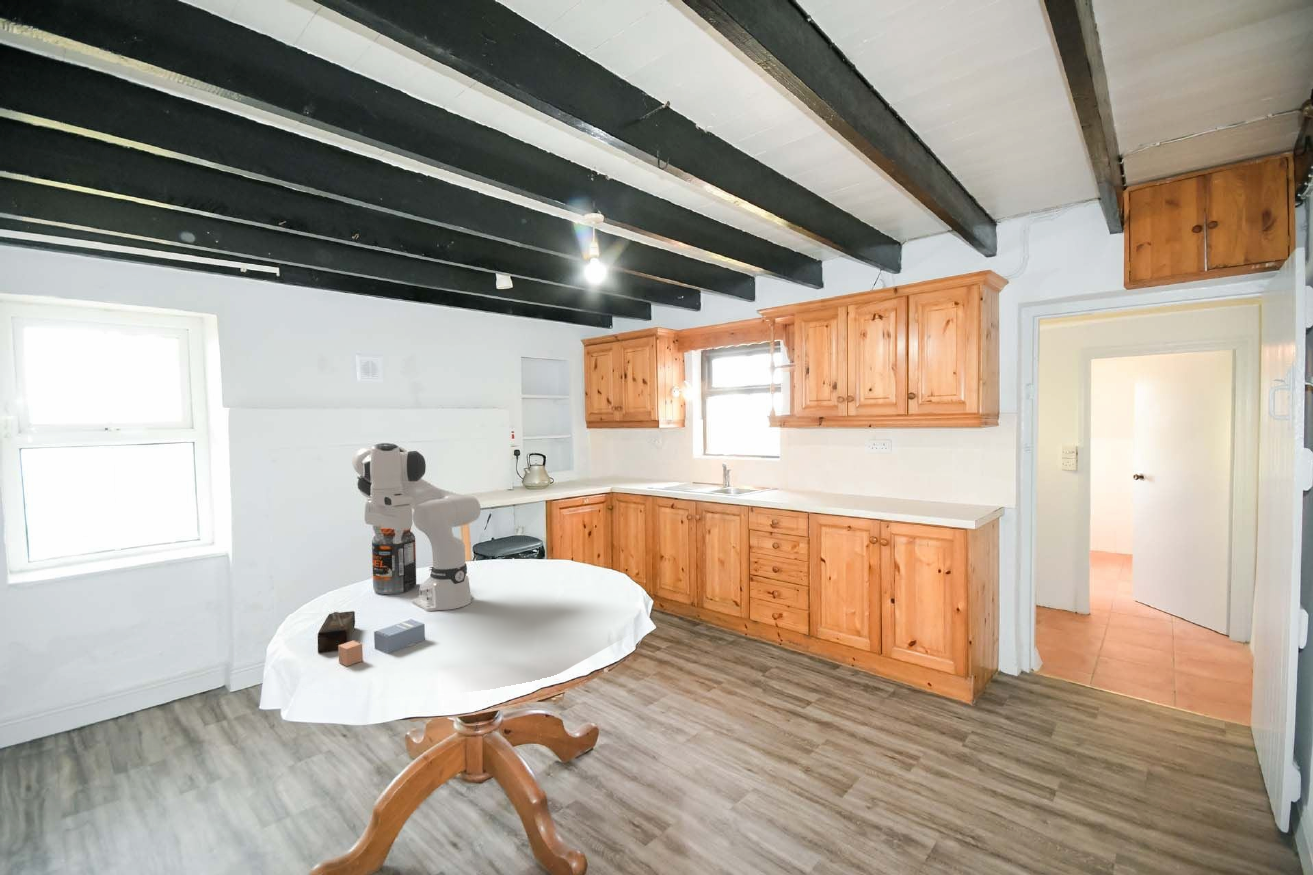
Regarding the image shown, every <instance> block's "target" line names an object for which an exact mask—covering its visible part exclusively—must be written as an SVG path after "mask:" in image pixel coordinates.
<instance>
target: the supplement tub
mask: <svg viewBox="0 0 1313 875" xmlns="http://www.w3.org/2000/svg"><path fill="white" fill-rule="evenodd" d="M411 529H412V527H411V528H410V529H408V530H403V531H404V532H403V535H402V537H401V543H399V544H395V543H393V538H395V534H396V533H395V532H394V529H390V528H385V527H381V531H382V533H383V537H384V538H383V539H382V540H377V539H376V538H375V535H374V536H373V537H372V540H371V558H372V560H371V561H372V562H371V563H372V564H371V565H372V589H373V591H374V592H375V593H377V594H382V595H383V594H384V595H396V594H402V593H404V592H408V591H411V590H412V589H414V588H415V587H416V585H417V564H416V563H417V555H416V553H417V550H416V536H415V534H414V532H412V530H411Z"/></svg>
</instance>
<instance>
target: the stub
mask: <svg viewBox="0 0 1313 875" xmlns="http://www.w3.org/2000/svg"><path fill="white" fill-rule="evenodd" d="M337 652H338V663H339V664H342V665H344V666H346V667H349V666H351V665H354V664H357V663H359V662H362V661H364V657H363V652H364V651H363V643H362V642H360V641H357V640H355V639H354V640H350V641H349V642H347V643H344V644H341V645H338V651H337Z"/></svg>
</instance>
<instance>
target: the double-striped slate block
mask: <svg viewBox="0 0 1313 875" xmlns="http://www.w3.org/2000/svg"><path fill="white" fill-rule="evenodd" d="M425 633H426V631H425V623H423V622H421V621H417V620H414V619H409V620H405V621H402V622H399V623H396V624H393V625H390V626H387V627H385V628H381V629H378V630H376V631H373V636H374V637H373V638H374V640H373V642H374V649H375V650H378V651H380V652H382V653H385V654H390V653H394V652H396V651H398V650H401V649H404V648H407V647H410V646H412V645H414V644H418V643H420V642H423V641H425V640H426V634H425Z"/></svg>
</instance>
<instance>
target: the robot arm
mask: <svg viewBox="0 0 1313 875" xmlns="http://www.w3.org/2000/svg"><path fill="white" fill-rule="evenodd" d="M351 461H352V463H351V464H352V467H353V469H354V470H355V472H356V473H357V474H358V475H359V476H357V477H356V478H357V479H358V480H357V484H356V485H357V489H358V490H359V492H360V493H361V494H362V495H363V496H364V497H365V498H367V501H366V502H365V506H364V522H365V524H367V525H370V526H372V530H373V533H374V534H375V535H374V536H375V538H376V539H377V540H382V539H383V538H384V537H383V533H382V531H381V527H385V528H390V529H394V532H395V533H396V534H395V538H393V543H395V544H399V543H401V537H402V535H403V532H404V531H403V530H408V529H410V528H411V529H412V526H413V524H414V526H415V528H417V529H418V530H419V531H420V532H423V534H424V535H426V537H427V538H428V540H429V542H430V546H431V550H432V566H430V567H429V571H430V575H429V577H428V578H427V579H426V580H425V581H423V583H422V584H420V586H419V590H418V596H416V597H414V598H413V599H412V600H411V602H412V603H413V604H414V605H416V606H418V607H420V608H421V609H423V610H425V611H427V612H434V611H444V610H445V611H447V610H453V609H458V608H463V607H465V606H467V605H469V604H470V603H471V602H472V599H473V597H474V595H473V593H471V587H470V580H469V579H470V578H469V576H468V575H467V574H468V567H467V563H466V546H465V542H464V541H463V540H462V539H460V538H458V537H456V536H454V534H453V528H457V527H461V526H465V525H469V524H471V523H473V522H475V521H477V520H478V519H479V517H480V515H481V511H482V510H481V504H480V502H479V500H478V499H477V498H476V497H474V496H471V495H463V494H461V493H460V494H459V493H456V492H453V491H449V490H445V489H441V488H438V487H436V486H435V485H433V484H431V483H430V482H428V481H426V480H424V479H423V477H424V475H425V474H426V467H427V466H426V460H425V457H424V455H423V454H421V453H420V452H419V451H418V450H409V451H407V450H406V449H405V448H403V447H401V446H399V445H397V444H395V443H389V442H386V443H385V442H382V443H377V444H374V445H373V446H364V447H361V448H360V449H358V450H357V451H356V452H355V453H354V455H353V457H352V460H351Z"/></svg>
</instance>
